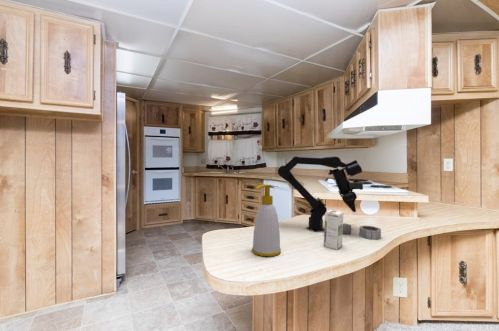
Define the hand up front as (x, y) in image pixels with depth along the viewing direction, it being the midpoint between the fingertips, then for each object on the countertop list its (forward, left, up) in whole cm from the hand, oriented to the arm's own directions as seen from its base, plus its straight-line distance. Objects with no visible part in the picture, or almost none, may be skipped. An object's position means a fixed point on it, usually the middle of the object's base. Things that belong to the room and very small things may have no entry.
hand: (353, 209), depth 120 cm
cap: (-5, 0, -11) cm, 12 cm away
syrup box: (-24, -11, -11) cm, 28 cm away
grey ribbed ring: (+1, -9, -11) cm, 14 cm away
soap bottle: (-52, -4, -11) cm, 53 cm away
